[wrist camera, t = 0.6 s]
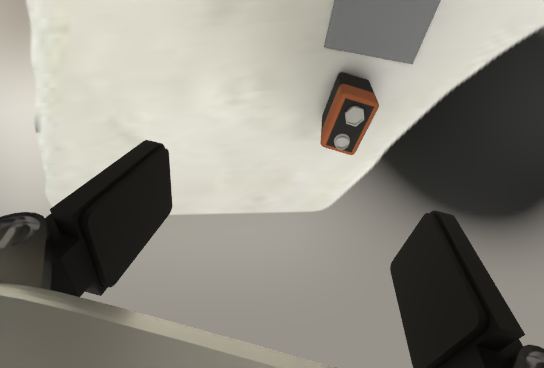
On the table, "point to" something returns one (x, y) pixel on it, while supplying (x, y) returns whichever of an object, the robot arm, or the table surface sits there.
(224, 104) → the table surface
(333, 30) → the mat
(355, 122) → the battery
